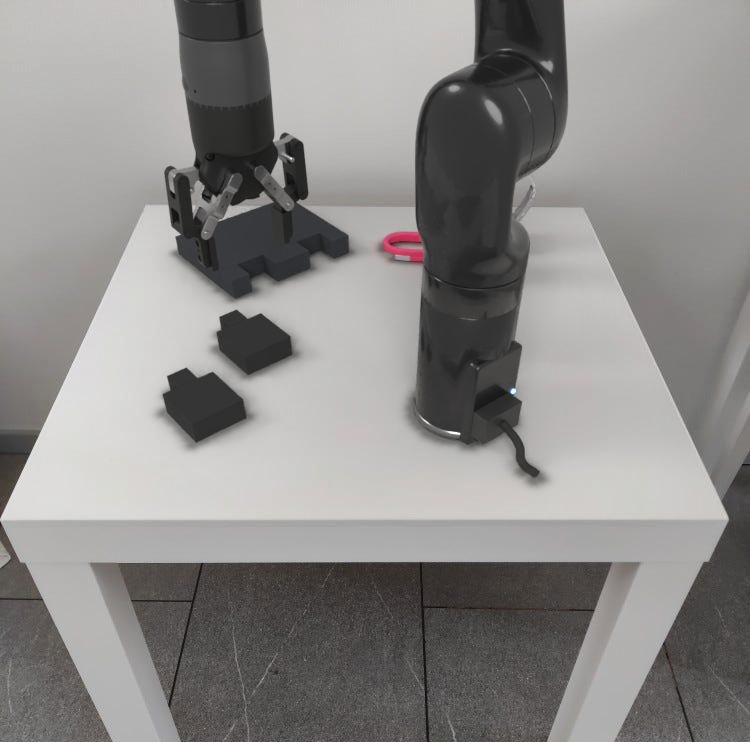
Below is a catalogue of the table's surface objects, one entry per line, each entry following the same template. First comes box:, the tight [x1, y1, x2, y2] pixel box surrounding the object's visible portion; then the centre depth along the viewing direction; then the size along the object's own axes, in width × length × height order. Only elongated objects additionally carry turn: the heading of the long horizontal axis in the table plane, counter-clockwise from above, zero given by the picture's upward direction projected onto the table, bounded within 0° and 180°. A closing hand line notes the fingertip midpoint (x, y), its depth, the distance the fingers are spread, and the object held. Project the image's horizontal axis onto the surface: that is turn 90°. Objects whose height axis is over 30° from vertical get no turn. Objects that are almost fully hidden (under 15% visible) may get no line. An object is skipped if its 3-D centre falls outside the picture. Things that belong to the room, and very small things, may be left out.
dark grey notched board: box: [175, 201, 350, 299], centre depth 101 cm, size 14×18×2 cm
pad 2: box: [162, 367, 247, 443], centre depth 79 cm, size 8×6×2 cm
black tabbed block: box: [216, 309, 293, 376], centre depth 87 cm, size 8×6×2 cm
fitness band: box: [382, 231, 423, 262], centre depth 102 cm, size 8×6×2 cm
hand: (247, 254), depth 79 cm, fingers open, 8 cm apart
